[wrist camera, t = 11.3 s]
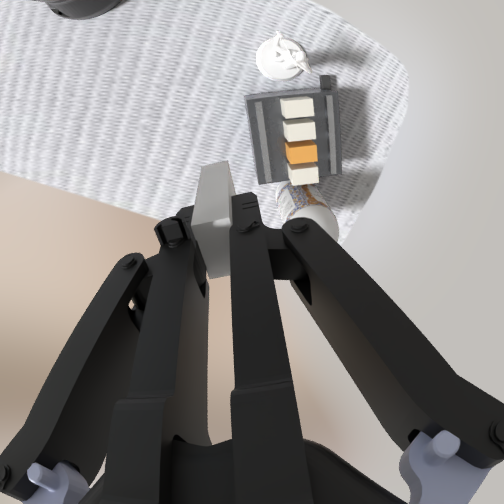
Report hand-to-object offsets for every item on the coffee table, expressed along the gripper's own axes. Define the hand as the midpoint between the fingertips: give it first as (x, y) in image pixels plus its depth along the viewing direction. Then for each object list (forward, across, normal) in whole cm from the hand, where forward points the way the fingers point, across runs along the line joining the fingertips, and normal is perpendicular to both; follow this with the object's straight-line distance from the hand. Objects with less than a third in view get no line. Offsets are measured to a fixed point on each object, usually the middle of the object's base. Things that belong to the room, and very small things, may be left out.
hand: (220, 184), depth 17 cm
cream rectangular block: (+23, +9, -1) cm, 25 cm away
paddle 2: (+23, +9, -4) cm, 25 cm away
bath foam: (+29, +8, -16) cm, 34 cm away
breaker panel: (+29, +9, -5) cm, 31 cm away
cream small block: (+23, +9, -10) cm, 26 cm away
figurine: (+30, +9, +6) cm, 32 cm away
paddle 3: (+23, +9, -7) cm, 26 cm away
